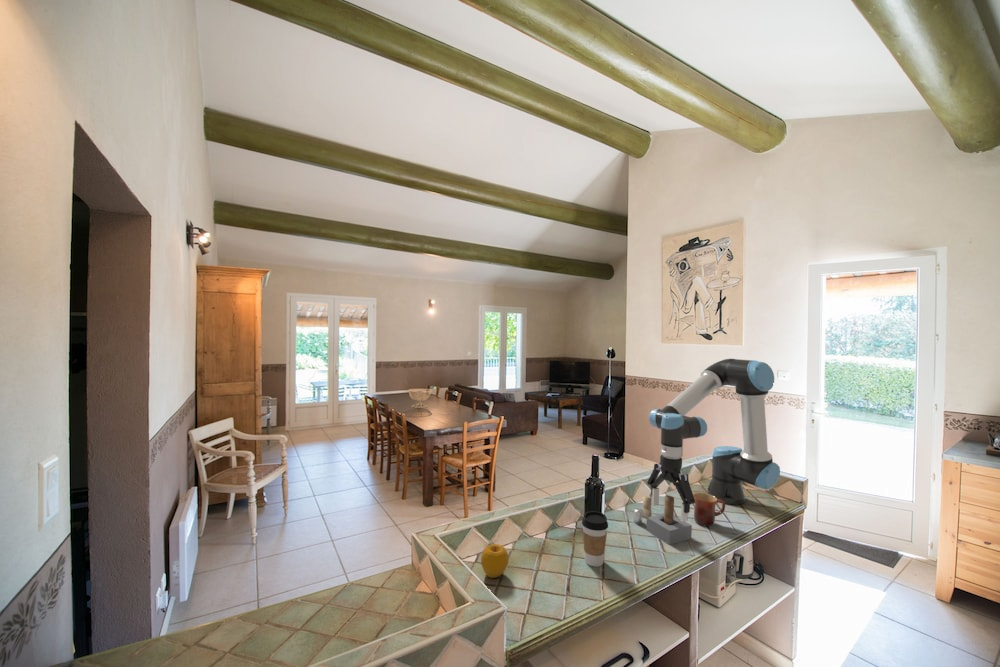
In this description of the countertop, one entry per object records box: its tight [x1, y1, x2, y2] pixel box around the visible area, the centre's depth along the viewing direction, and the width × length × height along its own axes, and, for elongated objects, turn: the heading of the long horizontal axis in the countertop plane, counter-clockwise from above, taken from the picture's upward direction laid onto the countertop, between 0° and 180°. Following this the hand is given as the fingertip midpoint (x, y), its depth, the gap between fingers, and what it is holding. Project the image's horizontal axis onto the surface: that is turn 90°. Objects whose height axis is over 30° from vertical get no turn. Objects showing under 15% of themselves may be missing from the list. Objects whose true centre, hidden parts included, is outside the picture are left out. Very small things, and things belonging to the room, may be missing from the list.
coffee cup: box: [581, 510, 609, 568], centre depth 136 cm, size 8×8×15 cm
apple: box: [480, 543, 509, 579], centre depth 128 cm, size 9×8×9 cm
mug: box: [693, 492, 726, 527], centre depth 165 cm, size 12×9×10 cm
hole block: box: [645, 513, 693, 545], centre depth 155 cm, size 11×11×5 cm
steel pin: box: [633, 507, 643, 526], centre depth 164 cm, size 3×3×5 cm
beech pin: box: [642, 495, 652, 519], centre depth 169 cm, size 3×3×8 cm
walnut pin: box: [663, 495, 675, 525], centre depth 155 cm, size 3×3×14 cm
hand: (669, 512), depth 155 cm, fingers open, 13 cm apart
